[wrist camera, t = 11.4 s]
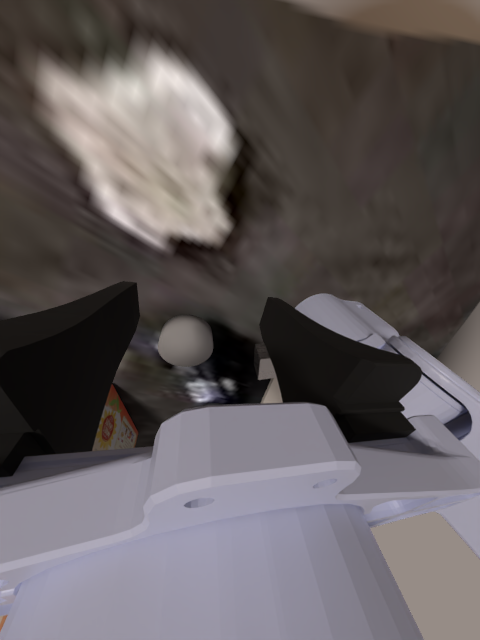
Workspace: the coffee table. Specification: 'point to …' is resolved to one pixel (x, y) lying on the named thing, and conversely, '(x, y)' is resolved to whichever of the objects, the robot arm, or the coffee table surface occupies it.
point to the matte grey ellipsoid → (186, 341)
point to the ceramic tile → (272, 392)
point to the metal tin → (263, 363)
